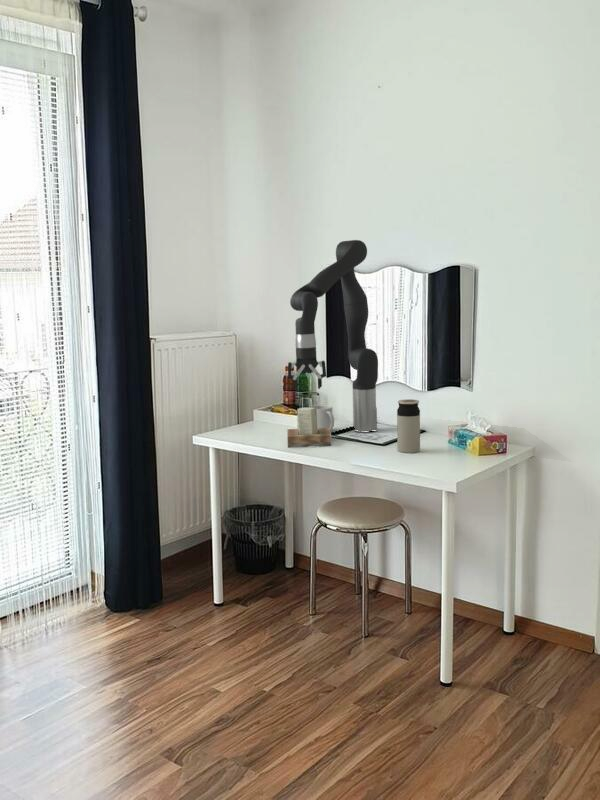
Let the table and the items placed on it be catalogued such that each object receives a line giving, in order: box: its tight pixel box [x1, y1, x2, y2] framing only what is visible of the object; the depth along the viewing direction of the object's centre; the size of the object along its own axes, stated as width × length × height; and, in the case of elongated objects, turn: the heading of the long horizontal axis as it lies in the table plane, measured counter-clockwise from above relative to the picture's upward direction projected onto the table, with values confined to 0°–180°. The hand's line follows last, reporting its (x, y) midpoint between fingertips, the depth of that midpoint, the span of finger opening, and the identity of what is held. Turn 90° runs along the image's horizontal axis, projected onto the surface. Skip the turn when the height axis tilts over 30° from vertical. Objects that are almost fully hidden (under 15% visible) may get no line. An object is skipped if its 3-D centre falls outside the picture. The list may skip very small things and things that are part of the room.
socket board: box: [286, 428, 332, 448], centre depth 303 cm, size 16×14×4 cm
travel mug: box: [396, 398, 421, 454], centre depth 283 cm, size 8×8×18 cm
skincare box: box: [296, 407, 318, 435], centre depth 302 cm, size 6×4×12 cm
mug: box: [309, 404, 335, 434], centre depth 321 cm, size 11×10×10 cm
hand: (307, 389), depth 300 cm, fingers open, 8 cm apart
